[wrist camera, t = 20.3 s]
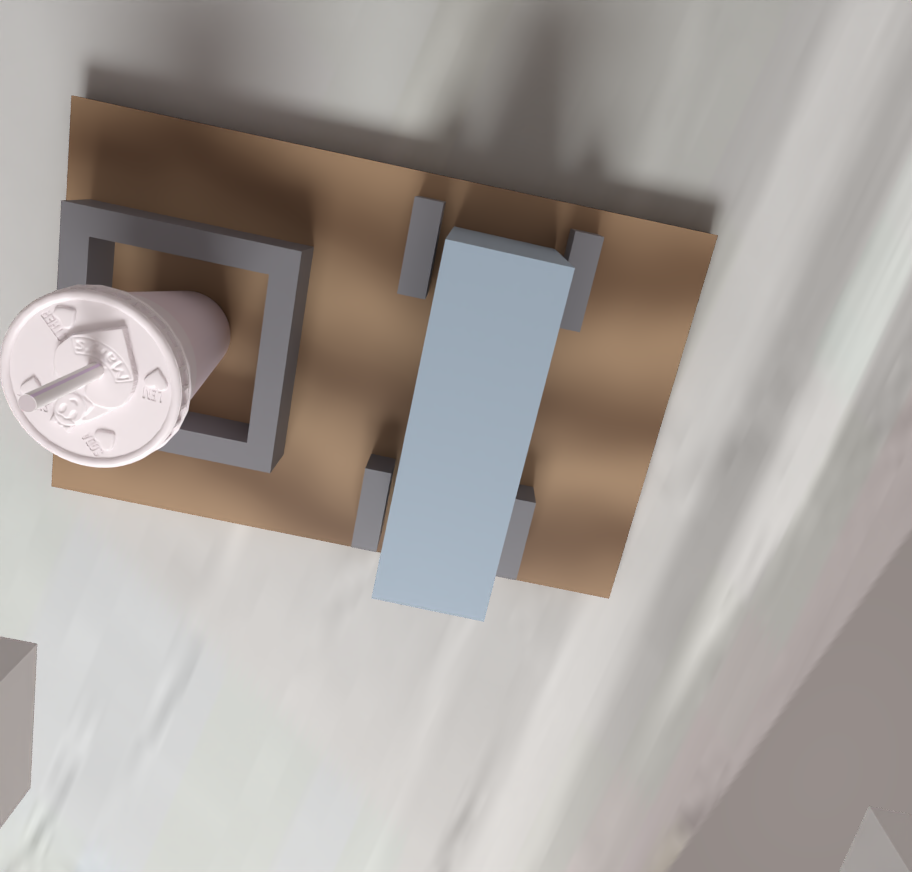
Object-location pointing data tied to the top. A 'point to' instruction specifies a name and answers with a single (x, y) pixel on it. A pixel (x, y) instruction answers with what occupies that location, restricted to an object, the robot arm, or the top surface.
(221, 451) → the frame
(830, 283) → the top surface
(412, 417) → the light blue rectangular block
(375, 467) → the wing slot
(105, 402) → the smoothie
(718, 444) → the top surface
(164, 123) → the jig board
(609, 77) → the top surface
